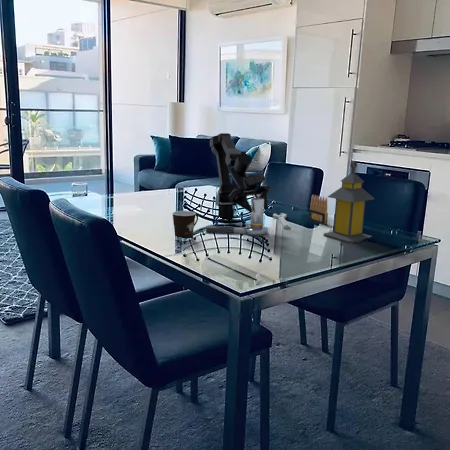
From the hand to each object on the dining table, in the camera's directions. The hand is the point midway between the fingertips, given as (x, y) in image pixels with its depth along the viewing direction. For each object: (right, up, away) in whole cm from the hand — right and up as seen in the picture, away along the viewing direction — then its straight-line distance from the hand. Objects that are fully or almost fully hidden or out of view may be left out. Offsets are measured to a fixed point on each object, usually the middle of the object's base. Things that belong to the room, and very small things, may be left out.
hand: (259, 210), depth 194 cm
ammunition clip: (+27, -5, +25) cm, 37 cm away
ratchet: (-9, -9, +4) cm, 13 cm away
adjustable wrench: (+11, -5, +24) cm, 27 cm away
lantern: (+35, -11, +1) cm, 36 cm away
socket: (-1, -7, +3) cm, 8 cm away
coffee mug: (-28, -11, -7) cm, 31 cm away
